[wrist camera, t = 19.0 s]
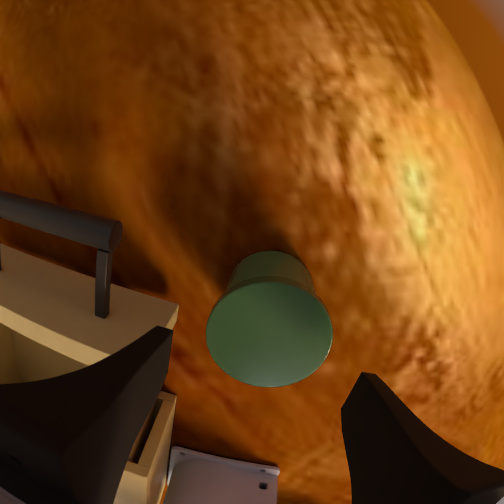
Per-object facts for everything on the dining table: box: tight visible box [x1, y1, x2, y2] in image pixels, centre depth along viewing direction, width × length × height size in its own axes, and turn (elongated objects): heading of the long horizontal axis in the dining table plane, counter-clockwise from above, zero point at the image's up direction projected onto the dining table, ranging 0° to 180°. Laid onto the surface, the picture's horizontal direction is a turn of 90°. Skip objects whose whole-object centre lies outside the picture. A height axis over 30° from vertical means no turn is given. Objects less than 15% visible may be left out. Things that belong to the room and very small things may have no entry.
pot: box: [206, 251, 333, 387], centre depth 15 cm, size 5×5×5 cm
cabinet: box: [113, 391, 177, 504], centre depth 19 cm, size 15×16×8 cm
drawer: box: [0, 190, 179, 464], centre depth 16 cm, size 18×14×6 cm
